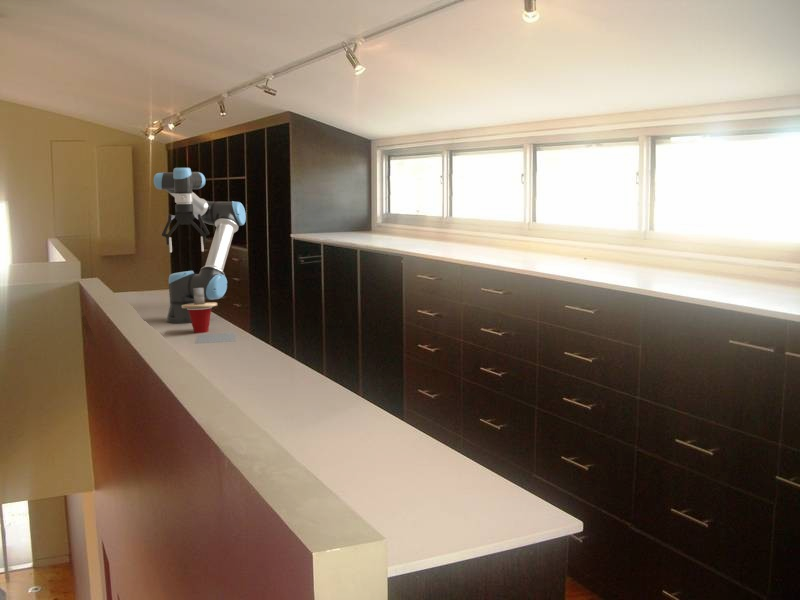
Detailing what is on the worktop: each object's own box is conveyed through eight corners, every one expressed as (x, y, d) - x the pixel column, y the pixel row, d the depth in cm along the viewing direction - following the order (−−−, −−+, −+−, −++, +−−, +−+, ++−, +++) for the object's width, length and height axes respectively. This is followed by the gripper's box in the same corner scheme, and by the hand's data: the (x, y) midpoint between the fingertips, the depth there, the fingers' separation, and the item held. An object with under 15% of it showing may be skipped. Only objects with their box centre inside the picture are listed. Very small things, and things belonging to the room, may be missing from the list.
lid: (183, 306, 351) (182, 288, 350) (218, 304, 353) (217, 286, 353) (180, 309, 336) (178, 290, 335) (216, 306, 339) (215, 288, 338)
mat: (197, 337, 339) (197, 334, 339) (236, 335, 342) (236, 332, 342) (195, 345, 323) (195, 343, 322) (235, 343, 325) (235, 341, 325)
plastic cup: (211, 330, 354) (210, 303, 352) (215, 334, 344) (214, 307, 342) (186, 332, 350) (185, 305, 348) (190, 337, 340) (188, 309, 338)
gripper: (153, 204, 342) (156, 253, 346) (212, 203, 347) (215, 251, 350) (155, 203, 350) (158, 251, 353) (213, 202, 354) (216, 249, 358)
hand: (186, 251), depth 352 cm, fingers open, 13 cm apart
